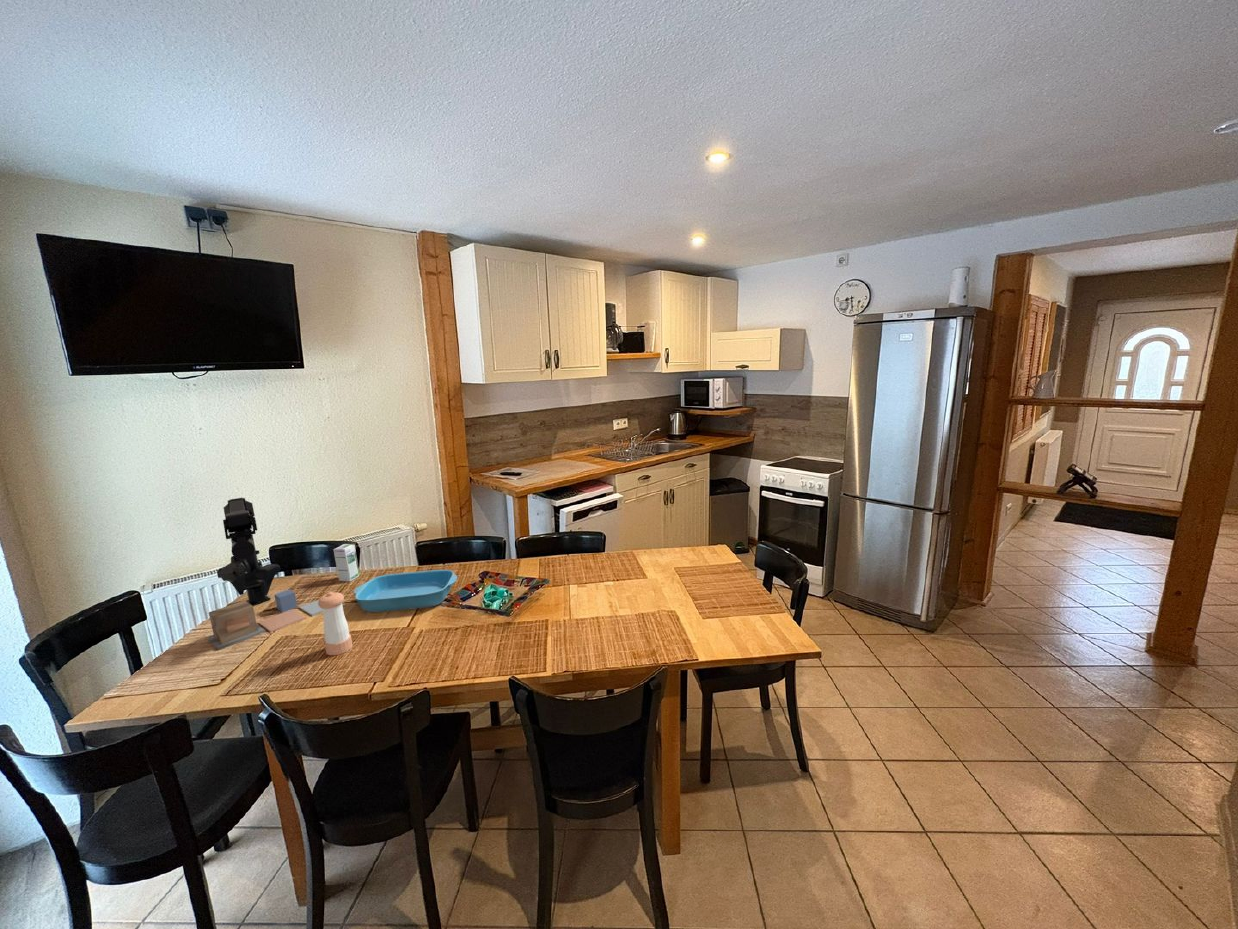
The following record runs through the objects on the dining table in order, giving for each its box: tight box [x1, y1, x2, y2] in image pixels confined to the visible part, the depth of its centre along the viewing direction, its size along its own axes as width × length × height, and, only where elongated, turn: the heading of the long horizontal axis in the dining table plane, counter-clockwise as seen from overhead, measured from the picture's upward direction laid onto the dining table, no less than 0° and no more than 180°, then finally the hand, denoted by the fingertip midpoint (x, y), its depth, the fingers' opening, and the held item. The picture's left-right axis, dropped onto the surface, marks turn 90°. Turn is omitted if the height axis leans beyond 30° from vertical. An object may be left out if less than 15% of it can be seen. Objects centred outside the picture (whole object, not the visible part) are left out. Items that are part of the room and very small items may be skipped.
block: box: [274, 589, 298, 613], centre depth 184 cm, size 5×5×6 cm
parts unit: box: [207, 599, 266, 651], centre depth 165 cm, size 11×13×10 cm
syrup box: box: [332, 543, 361, 582], centre depth 208 cm, size 6×6×14 cm
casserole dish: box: [353, 569, 458, 613], centre depth 187 cm, size 37×22×7 cm, turn 96°
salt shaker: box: [318, 591, 353, 656], centre depth 154 cm, size 7×7×19 cm
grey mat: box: [299, 599, 344, 617], centre depth 185 cm, size 11×11×1 cm
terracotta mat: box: [258, 608, 307, 633], centre depth 175 cm, size 11×11×1 cm
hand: (253, 595), depth 165 cm, fingers open, 9 cm apart
